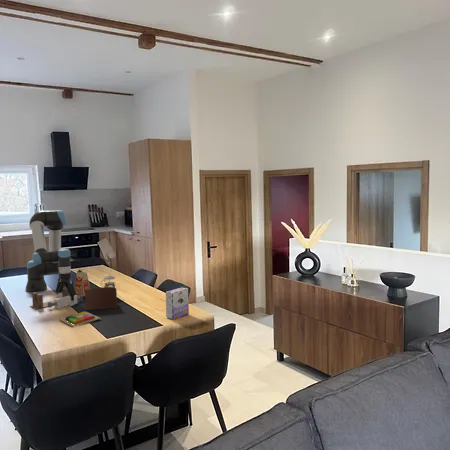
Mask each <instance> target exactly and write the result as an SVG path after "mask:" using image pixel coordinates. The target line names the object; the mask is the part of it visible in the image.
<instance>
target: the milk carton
mask: <svg viewBox="0 0 450 450" xmlns="http://www.w3.org/2000/svg"><path fill="white" fill-rule="evenodd" d="M88 276H89V275H88V272H87V271H86V270H85V268H78V271H76V276H75V281H74V282H75V283H74V289H75V292H76V296H77V297H79V295H83V297H85V290H88V289H91V288H90V287H91V286H90V281H89V277H88Z"/></svg>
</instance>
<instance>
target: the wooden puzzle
mask: <svg viewBox="0 0 450 450" xmlns="http://www.w3.org/2000/svg"><path fill="white" fill-rule="evenodd" d="M58 320H59V321H60V320H61V321H60V322H62V321H63V323H65V324H67V325H68V326H69V327H72V326H75V327H78V326H77V325H79V326H82V325H81V324H83V325H86V324H89V323H92V322H95V321H97V320H98V321H99V320H100V321H101V320H102V318H101V317H99V316H97V315H94V314H93V313H90V312H88V311H86V310H85V311H82V312H78V313H75V314H73V315H68V316H65V318H59V319H58ZM67 321H68V322H67ZM71 323H72V324H74V325H72V324H71ZM85 323H86V324H85Z"/></svg>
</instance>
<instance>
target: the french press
mask: <svg viewBox="0 0 450 450" xmlns="http://www.w3.org/2000/svg"><path fill="white" fill-rule="evenodd" d="M110 264H111V262H110V261H109V262H107V265H110ZM114 279H116V276H114V275H110V274H109V275H106V276H104V277H103V279H102V280H101V281H100V283H99V284H100V286H102V283H103V282H104V285H103V287H112V288H116V284H115V283H116V282H113V281H110V280H114ZM106 280H109V282H106Z"/></svg>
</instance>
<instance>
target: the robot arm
mask: <svg viewBox="0 0 450 450" xmlns="http://www.w3.org/2000/svg"><path fill="white" fill-rule="evenodd" d="M28 224H29V229H30V230H31V235H32V240H33V246H34V247H33V249H34V252H33V253H32V260H29V261H28V262H27V263H26V269H27V282H26V285H25V291H26V292H27V293H28V292H29V293H35V292H36V293H38V292H44V291H47V289H48V284H47V283H46V280H45V276H52V275H58V278H57V284H56V288H55V291H56V293H57V298H61V297H62V290H63V289H67V290H68V296H69V295H70V296H69V299H70V305H69V306H70V307H72V306H75V304H74V295H76V292H75V289H74V288H75V285H74V282H73V280H70V279H71V278H72V273H71V272H72V268H71V250H70V249H68V248H62V230H63V229H64V227H65V226H66V224H67V222H66V217H65V212H64V211H63V210H62V209H61V210H59V209H51V210H50V209H49V210H38V211H37V212H35V213H34V214H33V215H32V216H31V217H30V220H29V223H28ZM44 227H46V229H47V230H48V249H47V242H46V237H45V231H44Z"/></svg>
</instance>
